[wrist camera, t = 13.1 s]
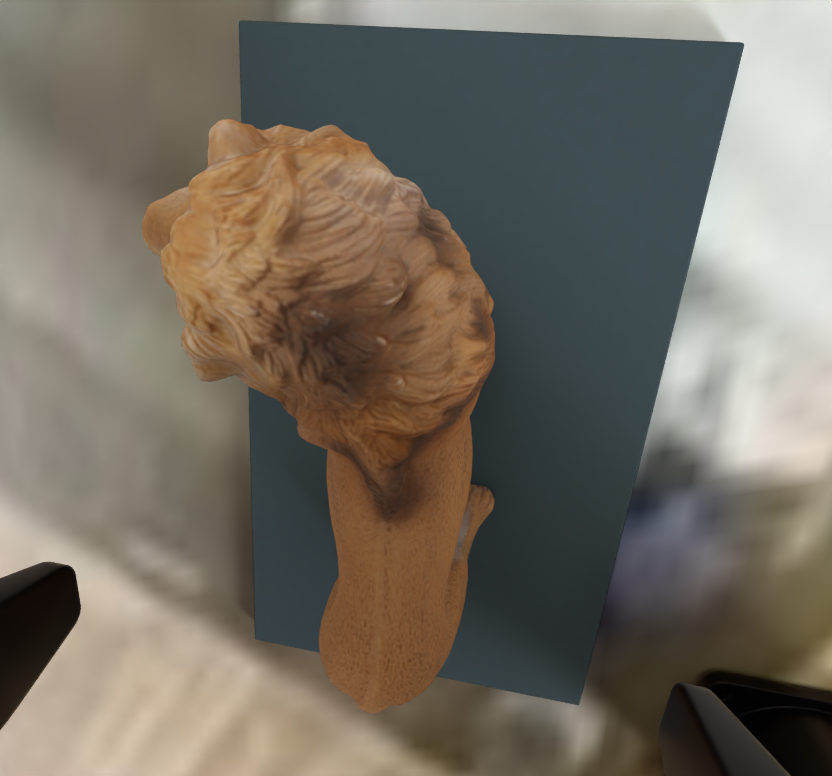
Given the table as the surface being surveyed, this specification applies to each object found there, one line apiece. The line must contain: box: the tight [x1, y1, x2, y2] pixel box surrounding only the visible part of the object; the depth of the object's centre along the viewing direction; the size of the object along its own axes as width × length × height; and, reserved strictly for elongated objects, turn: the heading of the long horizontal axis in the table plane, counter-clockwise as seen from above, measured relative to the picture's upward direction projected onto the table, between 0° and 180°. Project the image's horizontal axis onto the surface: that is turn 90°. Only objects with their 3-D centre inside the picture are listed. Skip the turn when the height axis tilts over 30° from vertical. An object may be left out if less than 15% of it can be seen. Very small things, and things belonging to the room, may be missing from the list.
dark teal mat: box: [239, 20, 744, 705], centre depth 16 cm, size 12×20×1 cm, turn 175°
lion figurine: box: [142, 119, 495, 713], centre depth 12 cm, size 15×5×9 cm, turn 9°
